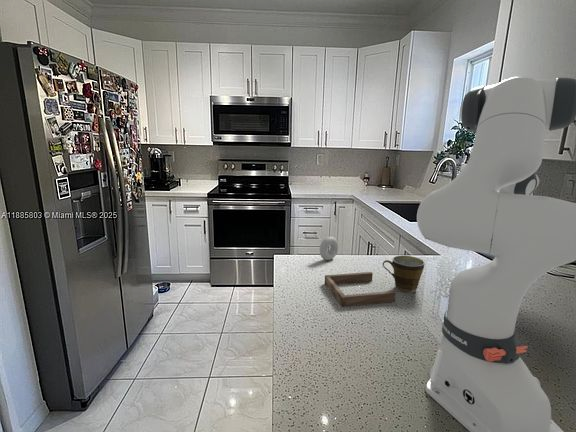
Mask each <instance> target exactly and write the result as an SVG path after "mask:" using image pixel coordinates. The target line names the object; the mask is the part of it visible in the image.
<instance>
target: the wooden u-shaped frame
mask: <svg viewBox="0 0 576 432" xmlns="http://www.w3.org/2000/svg"><path fill="white" fill-rule="evenodd" d="M373 275H374V274H373V272H372V271H364V272H363V271H362V272H351V273H340V274H339V273H337V274H326V275H324V284H325V286H326V287H327V289H328V290H329V292H330V293H331V295H333V296H334V298H335V299H336V301H337V302H338V304H339V305H340V306H341V307H354V306H363V305H373V304H383V303H384V304H385V303H392V302H394V303H395V302H396V292H395V291H394V290H388V291H376V292H366V293H364V292H363V293H355V294H353V293H352V294H344V292H343V291H342V290H341V289H340V287H339V286H338V285H339V284H340V285H341V284H342V285H343V284H350V283H351V284H352V283H364V282H365V283H366V282H373Z"/></svg>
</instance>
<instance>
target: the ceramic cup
mask: <svg viewBox="0 0 576 432" xmlns="http://www.w3.org/2000/svg"><path fill="white" fill-rule="evenodd" d="M385 263H388V264H390V265H391V267H392V269H393V273H392V272H391V271H390V270H389V269H388V268H387V267H386V266H385ZM425 264H426V263H425V261H424V260H423V259H422V258H419V257H415V256H412V255H396V256H394V257H392V261H391V260H388V259H386V260H384V261H383V262H382V267H383V268H384V269H385V270H386V271H388V273H389V274H390V275H391V276H392V278H393V279H394V287H395V289H396V290H397V291H399V292H402V293H407V294H412V293H414V292H415V293H416V291H417V289H418V288H419V284H420V280H421V277H422V274H423V271H424V268H425V266H426V265H425Z"/></svg>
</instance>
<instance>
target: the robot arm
mask: <svg viewBox="0 0 576 432" xmlns="http://www.w3.org/2000/svg"><path fill="white" fill-rule="evenodd" d="M463 97H464V98H463V100H462V102H461V105H460V108H459V119H460V122H461V125H462V127H463V128H464V129H465V130H466V131H467V132H471V133H475V137H474V141H473V145H472V148H471V152H470V155H469V158H468V161H467V163H466V165H465V167H463V169H462V170H461V171H460V173H459V174H458V175H456V177H455V178H454V179H452V180H451V181H449V182H448V183H447V184H445V185H443V186H442V187H440V188H438V189H436V190H433V191H431V192H430V193H428V194H427V195H426V196H425V197H424V198H423V199H422V201H421V202H420V204H419V206H418V208H417V210H416V211H417V213H416V223H417V227H418V230H419V232H420V233H421V235H422V236H423V238H424V239H425V240H428V241H431V242H433V243H437V244H439V245H442V246H445V247H448V248H451V249H457V250H463V251H470V252H476V253H483V254H487V255H491V256H493V257H494V258H493V259H492V260H491V261H490V262H488V263H487V264H484V265H481V266H480V265H479V266H476V267H470V268H467V269H465V270H461V271H460V272H458V273H457V274H456V275H455V276H454V277H453V278H452V279H451V282H450V287H449V295H448V303H447V310H446V311H445V312H444V314H443V319H442V322H441V324H442V327H441V332H442V334H443V335H442V338H441V341H440V344H439V347H438V350H437V352H436V354H435V359H434V363H433V365H432V366H431V368H430V370H429V379H428V381H427V382H426V384H425V385H426V386H425V392H426V394H427V395H428V396H430V397H431V398H432V399H433V400H435V402H436V403H438V404H439V405H440V406H441V407H442V408H444V410H445V411H446V412H448V413H449V415H451V416H452V417H453V418H455V420H457V421H458V422H459V423H460V424H461V425H462V426H463V427H464V428H466V429H467V431H469V432H564V430H563V429H562V428H561V427H560V426H559V425H558V424H557V423H556V422H555V421H554V420H553V419H552V407H551V401H550V399H549V397H548V395H547V394H546V392H545V391H544V389H542V387H541V382H540V380H539V379H538V378H537V377H536V376H534V375H533V374H532V372H531V371H530V369H529V368H528V366H527V365H526V363H525V362H524V361H523V359H522V358H521V354H523V353H527V352H528V350H526V349H528V345H521V346H520V344H519V340H518V335H517V331H516V324H517V319H518V315H519V313H520V312H519V310H520V308H521V305H522V302H523V299H524V296H525V295H526V293H527V291H528V290H529V288H530V287H532V285H533V284H534V283H535V282H536V281H537V280H538V279H539V278H541V277H542V276H544V275H545V274H547V273H549V272H550V271H552V270H554V269H557V268H559V267H561V266H564V265H567V264H571V263H573V262H575V261H576V202H573V201H568V200H565V199H560V198H556V197H550V196H547V195H546V196H545V195H534V194H533V193H534V191H535V190H536V189H537V187H538V186H539V184H540V179H539V176H538V175H537V174H536V172H537V171H538V169H540V167H541V164H542V163H543V156H544V145H545V139H546V131H547V130H549V131H550V132H551V131H557V130H561V129H565V128H568V127H569V126H570V125H572V124H573V123H574V122H575V121H576V78H572V77H556V78H555V79H553V78H551V79H550V78H549V79H548V78H546V79H545V78H544V79H543V78H542V79H541V78H540V79H536V78H533V77H528V76H513V77H510V78H508V79H504V80H502V81H501V82H499V83H496V84H492V85H487V86H486V85H480V86H477V87H474V88H471V89H470V90H469V91H468V92H467V93H466V94H465V95H464V96H463Z"/></svg>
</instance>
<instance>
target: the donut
mask: <svg viewBox="0 0 576 432" xmlns="http://www.w3.org/2000/svg"><path fill="white" fill-rule="evenodd" d="M329 246H330V247H329ZM338 250H339V243H338V240H337V239H336V238H335V237H334V236H326V237H325V238H324V239H323V240H322V241H321V243H320V245H319V255H320V257H321V258H322V259H324V260H325V261H331V260H333V259H334V258H335V257H336V255H337V254H338Z"/></svg>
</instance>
